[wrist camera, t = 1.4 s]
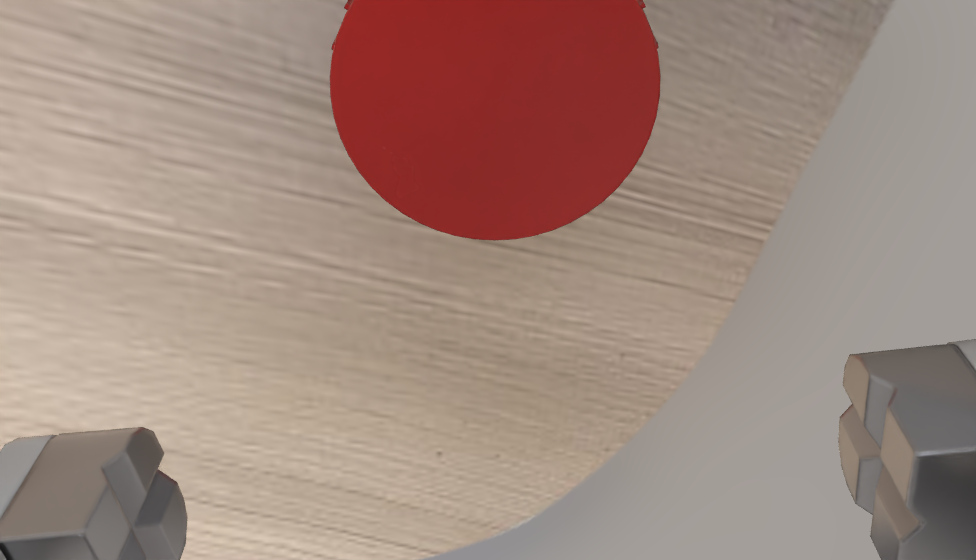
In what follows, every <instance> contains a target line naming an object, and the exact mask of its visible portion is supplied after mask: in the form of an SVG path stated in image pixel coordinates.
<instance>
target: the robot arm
mask: <svg viewBox="0 0 976 560" xmlns="http://www.w3.org/2000/svg"><path fill="white" fill-rule="evenodd" d="M843 386H844V388H845V390H846V392H847V394H848V396H849V398H850V400H851V402H852V405H851V406H850V407H849V408H848V409H847V410H846V411H845V412H844V413H843V414H842V415H841V417H840V421H839V441H838V442H839V450H840V458H841V466H842V470H843V473H844V476H845V479H846V483H847V486H848V488H849V490H850V493H851V495H852V497H853V500H854V502H855V504H857V505H858V506H860V507H861V508H863V509H864V510H866V511H867V512H869V513H870V514H872V515H873V518H872V526H871V536H870V537H871V539H872V541H873V543H874V545H875V547H876V550H877V552H878V554H879V556H880V558H881V560H976V339H972V340H965V341H957V342H949V343H947V344H946V345H934V346H926V347H925V346H924V347H916V348H907V349H897V350H888V351H879V352H869V353H860V354H850V355H849V357H848V360H847V362H846V365H845V369H844V378H843ZM163 455H164V452H163V450H162V448H161V446H160V444H159V442H158V439H157V437H156V435H155V433H154V431H151V430H149V429H146V428H143V427H138V428H125V429H113V430H100V431H88V432H75V433H63V434H59V435H45V436H34V437H22V438H17V439H15V440H13V441H11V442H9V443H7V444H5V445H4V447H3V448H2V450H1V451H0V560H180V558H181V555H182V552H183V550H184V547H185V544H186V530H187V513H186V508H185V502H184V498H183V495H182V493H181V491H180V488H179V486H178V483H177V482H176V481H174V480H173V479H171V478H170V477H168V476H167V475H166V474H164V473H163V472H161V471H160V470H158V467H159V464H160V462H161V460H162V458H163Z"/></svg>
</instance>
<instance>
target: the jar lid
mask: <svg viewBox="0 0 976 560" xmlns="http://www.w3.org/2000/svg"><path fill="white" fill-rule="evenodd" d="M645 7H646V6H645V4H644V2H643V0H348V1H347V3H346V5H345V7H344V8H345V9H346V10H347V12H346V14H345V17H344V19H343V22H342V24H341V27H340V29H339V32H338V34H337V36H336V38H335V40H334V42H333V44H332V50H333V54H332V60H331V70H330V97H331V103H332V109H333V115H334V119H335V123H336V126H337V129H338V132H339V135H340V138H341V140H342V142H343V145H344V147H345V149H346V151H347V153H348V155H349V157H350V159H351V160H352V162H353V163H354V165H355V166H356V168H357V170H358V171H359V173H360V174H361V175H362V176H363V178H364V179H365V180H366V181H367V182H368V184H369V185H370V186H371V187H372V188H373V189H374V190H375V191H376V192H377V193H378V194H379V195H380V196H381V197H382V198H383V199H384V200H385V201H386V202H388V203H389V204H391V205H392V206H393V207H395V208H396V209H397V210H399V211H400V212H401V213H403V214H405V215H406V216H408V217H410V218H412V219H413V220H415V221H417V222H419V223H421V224H423V225H426V226H428V227H430V228H433V229H435V230H437V231H441V232H444V233H448V234H451V235H454V236H459V237H465V238H471V239H479V240H510V239H519V238H525V237H530V236H535V235H539V234H542V233H545V232H549V231H552V230H555V229H557V228H559V227H562V226H564V225H566V224H569V223H571V222H573V221H574V220H576V219H578V218H580V217H581V216H583V215H585V214H587V213H588V212H590V211H591V210H592V209H594V208H595V207H596V206H598V205H599V204H600V203H602V202H603V201H604V200H605V199H606V198H607V197H608V196H610V195H611V194H612V193H613V192H614V191H615V190H616V189H617V188H618V187H619V186H620V184H621V183H622V182H623V181H624V180H625V178H626V177H627V176H628V175H629V174H630V172H631V171H632V169H633V168H634V166H635V165H636V163H637V161H638V160H639V158H640V157H641V155H642V153H643V151H644V149H645V147H646V144H647V142H648V140H649V138H650V135H651V132H652V129H653V126H654V123H655V119H656V116H657V110H658V104H659V98H660V67H659V57H658V52H657V48H658V43H657V41H656V39H655V37H654V35H653V33H652V30H651V28H650V25H649V23H648V20H647V18H646V15H645V13H644V11H643V8H645Z"/></svg>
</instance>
